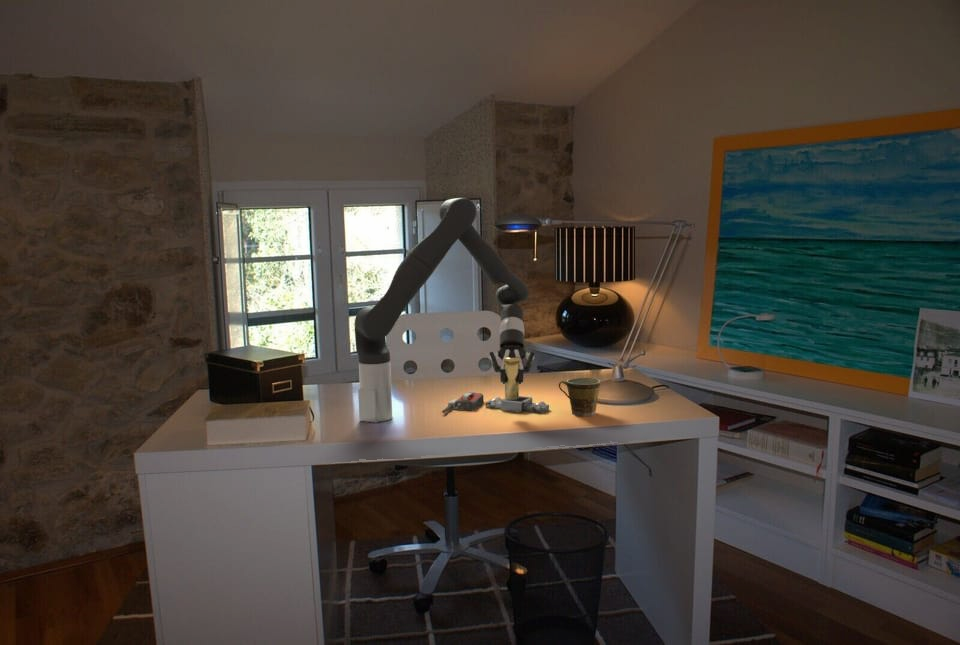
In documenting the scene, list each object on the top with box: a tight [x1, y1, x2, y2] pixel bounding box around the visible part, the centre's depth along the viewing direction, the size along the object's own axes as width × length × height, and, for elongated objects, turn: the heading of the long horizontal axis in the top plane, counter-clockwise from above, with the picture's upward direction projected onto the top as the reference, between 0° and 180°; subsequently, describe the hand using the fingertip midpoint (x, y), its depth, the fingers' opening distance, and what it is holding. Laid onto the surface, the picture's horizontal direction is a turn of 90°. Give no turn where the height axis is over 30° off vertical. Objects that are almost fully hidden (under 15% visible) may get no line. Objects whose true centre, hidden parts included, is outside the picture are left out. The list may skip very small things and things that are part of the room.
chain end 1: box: [484, 396, 503, 410], centre depth 229 cm, size 5×7×2 cm
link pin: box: [504, 357, 520, 400], centre depth 214 cm, size 5×5×12 cm
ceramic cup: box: [558, 377, 601, 418], centre depth 218 cm, size 13×10×10 cm
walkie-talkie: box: [441, 391, 485, 414], centre depth 229 cm, size 9×4×20 cm
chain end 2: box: [500, 395, 550, 414], centre depth 225 cm, size 8×14×3 cm, turn 62°
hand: (511, 382), depth 212 cm, fingers closed on link pin, 4 cm apart
